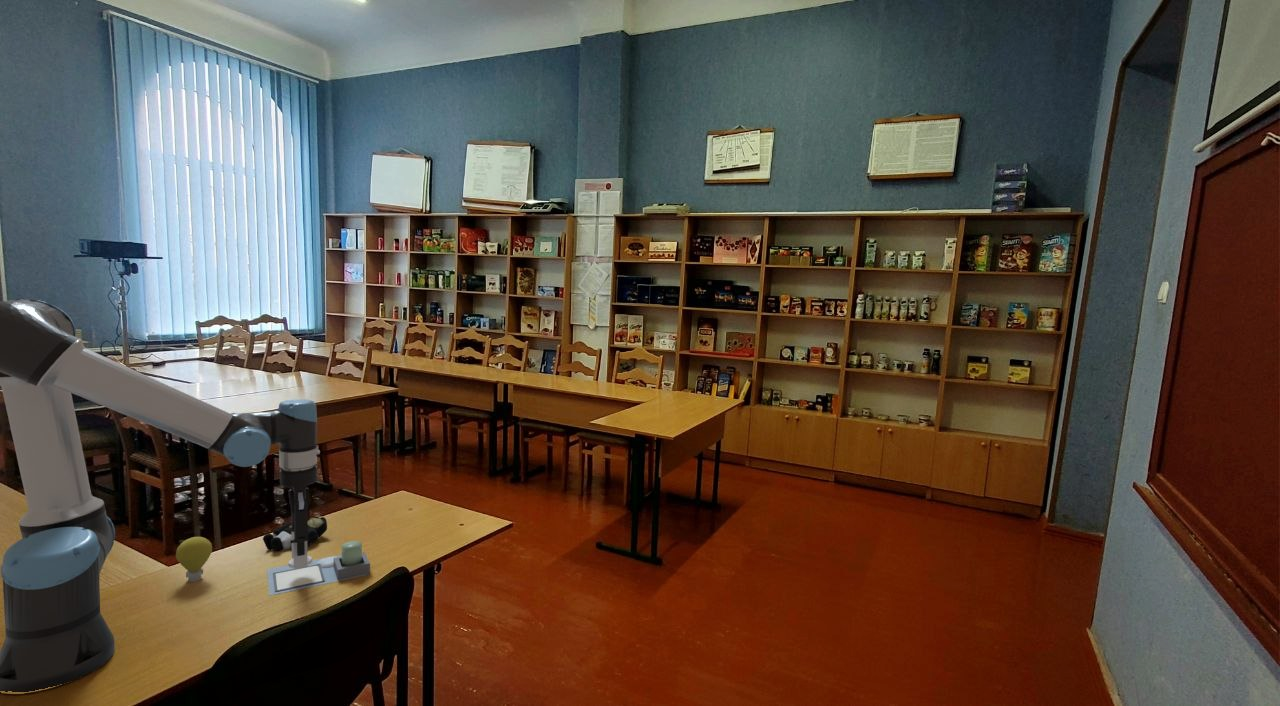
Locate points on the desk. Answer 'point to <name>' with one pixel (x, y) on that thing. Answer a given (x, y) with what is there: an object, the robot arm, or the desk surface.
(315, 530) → the toy
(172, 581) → the desk surface
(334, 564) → the board
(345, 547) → the button
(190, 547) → the light bulb
